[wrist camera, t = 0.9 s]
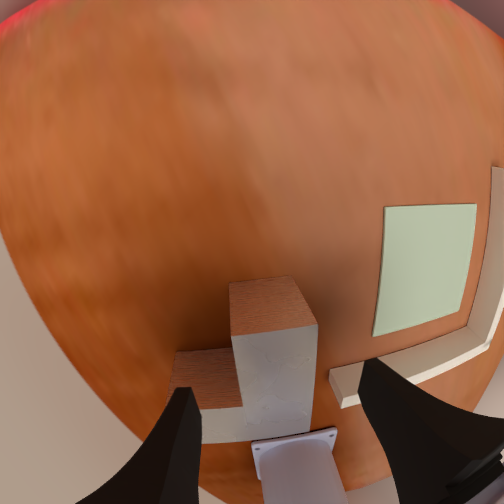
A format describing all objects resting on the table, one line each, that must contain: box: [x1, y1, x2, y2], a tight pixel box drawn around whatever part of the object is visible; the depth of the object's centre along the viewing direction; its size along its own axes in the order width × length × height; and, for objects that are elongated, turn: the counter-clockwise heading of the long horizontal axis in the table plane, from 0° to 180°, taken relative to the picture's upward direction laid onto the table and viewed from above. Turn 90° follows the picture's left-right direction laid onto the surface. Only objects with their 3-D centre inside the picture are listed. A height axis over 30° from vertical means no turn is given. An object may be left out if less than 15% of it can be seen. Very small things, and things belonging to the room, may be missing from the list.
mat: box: [372, 204, 477, 337], centre depth 16 cm, size 9×9×1 cm
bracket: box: [165, 275, 318, 444], centre depth 14 cm, size 8×8×5 cm
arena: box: [329, 166, 504, 409], centre depth 15 cm, size 16×16×3 cm
